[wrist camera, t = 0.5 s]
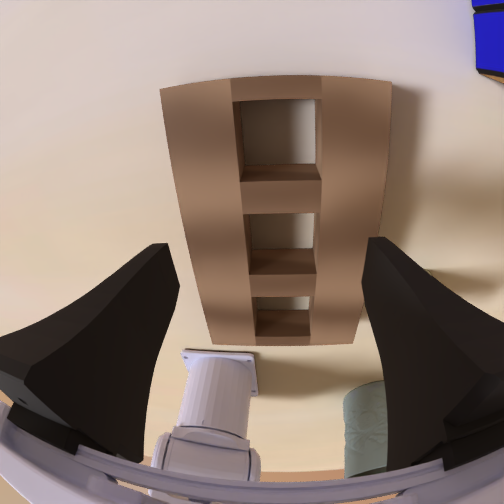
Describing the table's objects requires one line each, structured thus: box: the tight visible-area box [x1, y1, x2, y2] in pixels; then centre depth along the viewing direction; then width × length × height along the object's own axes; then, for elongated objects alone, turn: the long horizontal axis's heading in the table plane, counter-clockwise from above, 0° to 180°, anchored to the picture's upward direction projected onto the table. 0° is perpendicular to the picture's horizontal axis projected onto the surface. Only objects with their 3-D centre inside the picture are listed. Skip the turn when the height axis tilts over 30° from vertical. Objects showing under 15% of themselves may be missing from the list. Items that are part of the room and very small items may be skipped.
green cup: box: [343, 381, 388, 479], centre depth 29 cm, size 10×10×12 cm
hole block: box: [160, 75, 392, 346], centre depth 19 cm, size 20×12×3 cm, turn 5°
